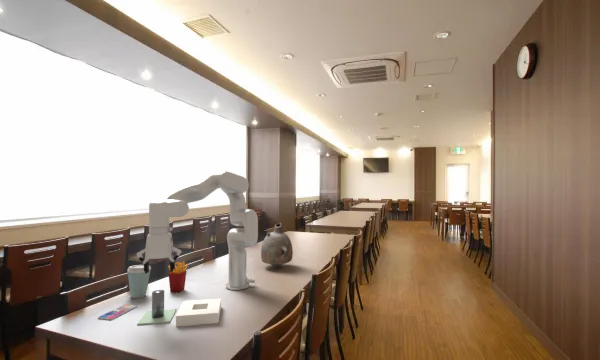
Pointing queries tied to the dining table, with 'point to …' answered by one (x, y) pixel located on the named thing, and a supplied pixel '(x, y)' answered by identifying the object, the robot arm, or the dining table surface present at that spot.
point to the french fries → (177, 278)
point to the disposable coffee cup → (138, 280)
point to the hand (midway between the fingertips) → (159, 271)
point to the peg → (158, 304)
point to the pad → (165, 319)
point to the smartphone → (117, 312)
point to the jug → (276, 247)
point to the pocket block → (199, 312)
